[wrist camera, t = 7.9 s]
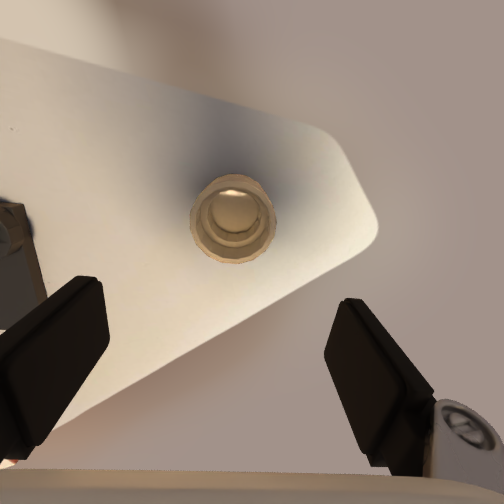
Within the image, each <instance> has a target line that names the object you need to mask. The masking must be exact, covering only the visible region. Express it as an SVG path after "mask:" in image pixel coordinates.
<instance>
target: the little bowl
mask: <svg viewBox="0 0 504 504" xmlns="http://www.w3.org/2000/svg"><path fill="white" fill-rule="evenodd" d="M276 223H277V222H276V216H275V212H274V208H273V205H272V203H271V201H270V199H269V198H268V196H267V194H266V192H265V191H264V190H263V188H262V187H261V186H260V184H259V183H258V182H256V181H255V180H253V179H251V178H249V177H248V176H245V175H239V174H228V175H224V176H221V177H218V178H216V179H215V180H214V181H213V182H211V183H210V184H209V185H208V186H207V187H206V188H205V189H204V190H203V191H202V192H201V194H200V195H199V196H198V197H197V199H196V201H195V203H194V205H193V207H192V209H191V212H190V230H191V233H192V235H193V238H194V240H195V243H196V245H197V246H198V247H199V248H200V249H201V250H202V251H203V252H204V253H205V254H206V255H207V256H209V257H211V258H213V259H215V260H217V261H219V262H222V263H231V264H240V263H244V262H247V261H251V260H254V259H255V258H256V257H258V256H259V255H261V254H262V253H263V252H265V251H266V249H267V248H268V246H269V245H270V243H271V242H272V240H273V238H274V235H275V229H276Z"/></svg>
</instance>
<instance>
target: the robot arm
mask: <svg viewBox="0 0 504 504" xmlns="http://www.w3.org/2000/svg"><path fill="white" fill-rule="evenodd" d="M109 341H110V334H109V327H108V320H107V313H106V306H105V299H104V293H103V286H102V283H101V282H100V281H98V279H97V278H96V277H90V276H76V277H74V278H73V279H72V280H70V281H69V282H68V283H66V284H65V285H64V286H63V287H61V288H60V289H59V290H57V291H56V292H55V293H54V294H52V295H51V296H50V297H49V298H47V299H46V300H45V301H43V302H42V303H41V304H40V305H38V306H37V307H36V308H34V309H33V310H32V311H31V312H29V313H28V314H27V315H25V316H24V317H23V318H22V319H20V320H19V321H18V322H16V323H15V324H14V325H13V326H11V327H10V328H9V329H7V330H6V331H5V332H4V333H2V334H1V335H0V464H1V462H2V461H3V460H4V459H7V460H26V459H27V458H28V457H29V455H30V453H31V452H32V451H33V449H34V448H35V446H39V445H41V444H42V443H43V442H44V440H45V439H46V438H47V436H48V435H49V433H50V432H51V430H52V429H53V427H54V426H55V424H56V423H57V421H58V420H59V418H60V417H61V415H62V414H63V412H64V411H65V409H66V408H67V407H68V405H69V404H70V402H71V401H72V399H73V398H74V396H75V395H76V393H77V392H78V390H79V389H80V387H81V386H82V384H83V383H84V381H85V380H86V378H87V377H88V375H89V374H90V372H91V371H92V369H93V368H94V366H95V365H96V363H97V362H98V360H99V359H100V357H101V356H102V354H103V353H104V351H105V350H106V348H107V347H108V344H109ZM324 358H325V361H326V364H327V367H328V369H329V372H330V374H331V377H332V379H333V382H334V385H335V387H336V389H337V392H338V395H339V397H340V400H341V402H342V405H343V407H344V410H345V413H346V415H347V418H348V420H349V423H350V425H351V428H352V431H353V433H354V436H355V438H356V441H357V443H358V446H359V448H360V450H361V452H362V453H363V454H366V456H367V458H368V461H369V463H370V466H371V467H388V468H389V470H390V472H391V475H392V476H384V475H362V474H361V475H360V474H315V473H275V472H274V473H273V472H221V471H220V472H219V471H161V470H81V469H80V470H79V469H0V504H504V445H503V443H502V441H501V438H500V436H499V435H498V434H497V432H496V431H495V429H494V428H493V427H492V426H491V425H490V424H489V423H488V422H487V421H486V420H485V419H484V418H482V417H481V416H480V415H479V414H478V413H476V412H475V411H474V410H472V409H470V408H468V407H467V406H465V405H463V404H461V403H459V402H456V401H453V400H449V399H442V400H439V401H436V399H435V398H434V397H433V395H432V394H433V393H434V390H433V388H432V387H431V386H430V385H429V383H428V382H427V381H426V380H425V378H424V377H423V376H422V375H421V373H420V372H419V371H418V370H417V368H416V367H415V366H414V365H413V363H412V362H411V361H410V360H409V358H408V357H407V356H406V354H405V353H404V352H403V351H402V349H401V348H400V347H399V346H398V345H397V343H396V342H395V341H394V339H393V338H392V337H391V335H390V334H389V333H388V332H387V330H386V329H385V328H384V327H383V326H382V324H381V323H380V322H379V320H378V319H377V318H376V316H375V315H374V314H373V313H372V312H371V310H370V309H369V308H368V306H367V305H366V304H365V303H364V301H363V300H362V299H354V298H346V299H345V300H344V301H341V302H340V304H339V307H338V310H337V313H336V317H335V319H334V323H333V325H332V329H331V332H330V335H329V338H328V341H327V345H326V347H325V350H324Z"/></svg>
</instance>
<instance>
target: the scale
mask: <svg viewBox="0 0 504 504" xmlns="http://www.w3.org/2000/svg"><path fill="white" fill-rule="evenodd" d="M46 299H47V295H46V291H45V288H44V284H43V280H42V276H41V272H40V268H39V264H38V260H37V256H36V253H35V249H34V245H33V241H32V237H31V233H30V229H29V225H28V222H27V218H26V214H25V210H24V206H23V204H14V203H5V202H0V330H7V329H9V328H10V327H11V326H13V325H14V324H15V323H16V322H18V321H19V320H20V319H22V318H23V317H24V316H25V315H27V314H28V313H29V312H31V311H32V310H33V309H34V308H36V307H37V306H38V305H40V304H41V303H42V302H43V301H45V300H46Z"/></svg>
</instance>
